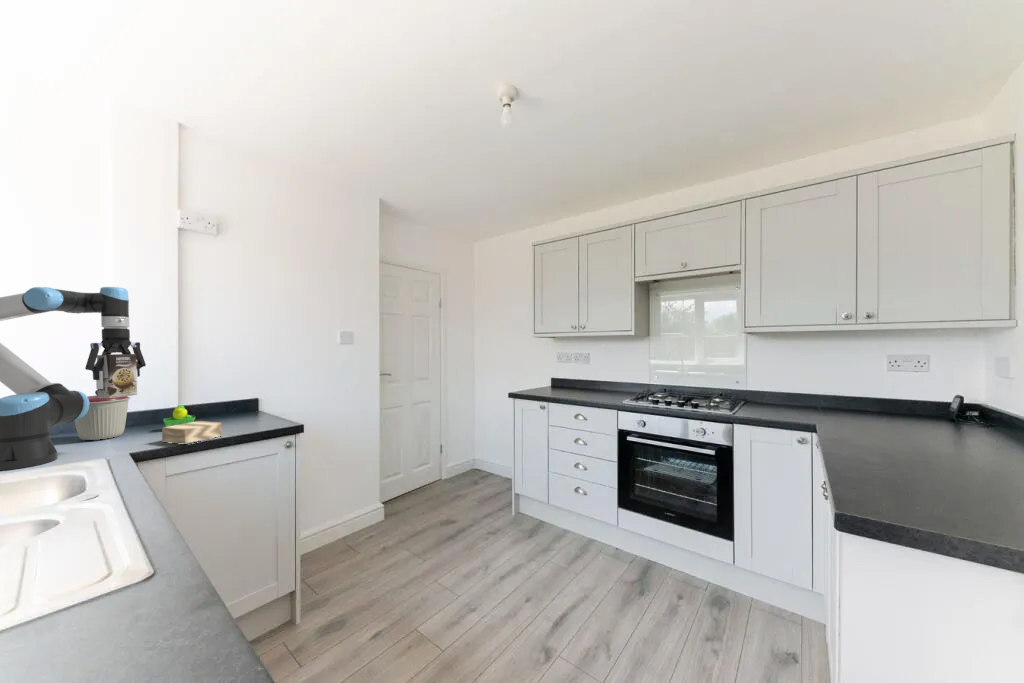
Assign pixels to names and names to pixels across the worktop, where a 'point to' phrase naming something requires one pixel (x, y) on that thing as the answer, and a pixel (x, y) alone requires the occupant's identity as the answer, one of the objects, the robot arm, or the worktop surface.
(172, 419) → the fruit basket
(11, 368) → the robot arm
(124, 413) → the canister
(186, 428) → the oak block
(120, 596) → the worktop surface
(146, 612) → the worktop surface
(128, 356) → the coffee box
